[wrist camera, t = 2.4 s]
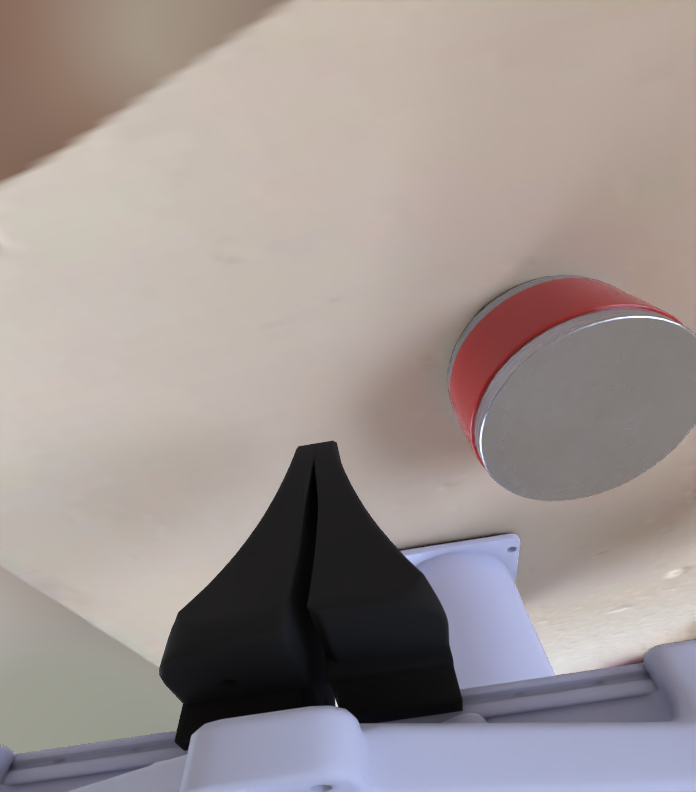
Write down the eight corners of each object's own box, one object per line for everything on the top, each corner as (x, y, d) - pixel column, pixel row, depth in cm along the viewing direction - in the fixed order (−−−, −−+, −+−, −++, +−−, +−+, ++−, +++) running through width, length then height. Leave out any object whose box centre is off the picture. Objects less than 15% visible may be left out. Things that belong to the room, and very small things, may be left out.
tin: (610, 422, 19) (675, 485, 16) (446, 449, 20) (474, 517, 16) (653, 254, 15) (757, 290, 11) (442, 291, 15) (479, 337, 12)
